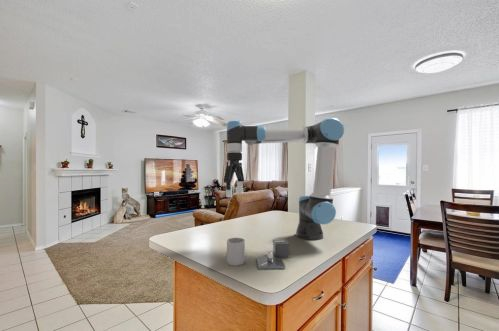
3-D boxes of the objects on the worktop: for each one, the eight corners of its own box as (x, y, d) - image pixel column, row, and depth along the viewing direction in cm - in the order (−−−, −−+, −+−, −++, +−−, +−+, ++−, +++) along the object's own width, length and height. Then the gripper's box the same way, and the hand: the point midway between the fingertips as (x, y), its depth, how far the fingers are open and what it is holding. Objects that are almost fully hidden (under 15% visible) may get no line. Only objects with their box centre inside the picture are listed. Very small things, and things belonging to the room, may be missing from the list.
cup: (230, 267, 87) (230, 244, 87) (222, 258, 96) (222, 237, 96) (247, 264, 90) (247, 241, 90) (238, 255, 99) (238, 235, 99)
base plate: (280, 258, 96) (280, 248, 96) (285, 268, 86) (285, 256, 86) (256, 259, 95) (256, 248, 95) (258, 269, 85) (258, 257, 85)
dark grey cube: (286, 252, 103) (286, 238, 103) (289, 257, 97) (289, 243, 97) (273, 252, 103) (273, 239, 103) (275, 257, 97) (275, 243, 97)
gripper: (237, 154, 125) (237, 192, 125) (216, 150, 102) (216, 197, 101) (249, 154, 123) (250, 193, 122) (231, 150, 99) (231, 198, 99)
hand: (234, 195), depth 112 cm, fingers open, 13 cm apart
